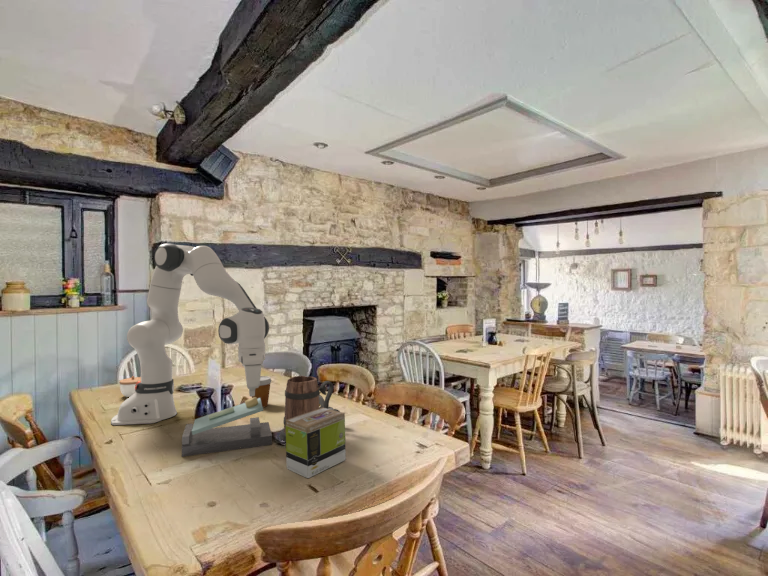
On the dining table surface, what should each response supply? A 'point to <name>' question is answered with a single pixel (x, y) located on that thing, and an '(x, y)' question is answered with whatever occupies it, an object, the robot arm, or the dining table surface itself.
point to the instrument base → (226, 438)
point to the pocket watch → (322, 402)
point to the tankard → (303, 397)
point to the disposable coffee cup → (263, 390)
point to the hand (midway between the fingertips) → (252, 395)
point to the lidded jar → (128, 386)
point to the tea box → (315, 441)
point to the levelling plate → (227, 415)
